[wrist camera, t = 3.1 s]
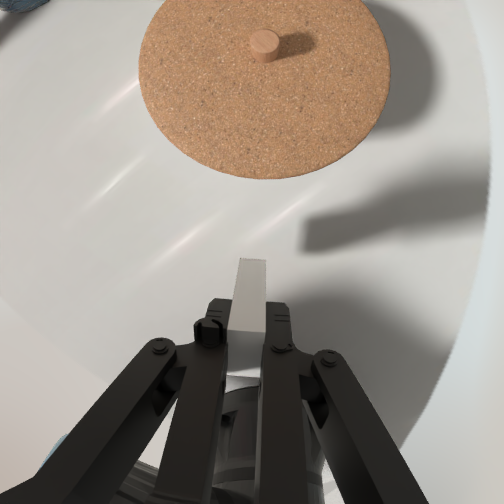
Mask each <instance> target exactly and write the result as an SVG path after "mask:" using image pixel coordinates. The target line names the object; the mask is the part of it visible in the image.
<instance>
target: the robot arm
mask: <svg viewBox="0 0 504 504" xmlns="http://www.w3.org/2000/svg"><path fill="white" fill-rule="evenodd" d="M194 339H195V341H194V342H192V343H189V344H185V345H177V346H175V344H174V342H173V341H171V340H170V339H167V338H155V339H152V340H150V341H149V342H148V343H146V345H145V346H144V347H143V348H142V349H141V350H140V351H139V353H138V354H137V355H136V356H135V357H134V358H133V359H132V361H131V362H130V363H129V364H128V365H127V366H126V367H125V369H124V370H123V371H122V372H121V373H120V374H119V376H118V377H117V378H116V379H115V380H114V381H113V382H112V384H111V385H110V386H109V387H108V388H107V389H106V391H105V392H104V393H103V394H102V395H101V396H100V398H99V399H98V400H97V401H96V402H95V403H94V405H93V406H92V407H91V408H90V409H89V411H88V412H87V413H86V414H85V415H84V416H83V418H82V419H81V420H80V421H79V422H78V424H77V425H76V426H75V427H74V428H73V429H72V431H71V432H70V433H69V434H66V435H64V436H62V437H61V438H60V439H59V440H58V442H57V443H56V444H55V446H54V447H53V449H52V450H51V452H50V453H49V454H48V456H47V457H46V459H45V461H44V462H43V464H42V465H41V467H40V468H39V470H38V472H37V473H36V474H35V476H34V477H33V478H31V479H29V480H27V481H25V482H23V483H21V484H19V485H17V486H15V487H13V488H11V489H9V490H7V491H5V492H3V493H1V494H0V504H325V502H324V493H323V484H322V469H323V466H324V462H325V458H326V460H327V462H328V465H329V467H330V469H331V472H332V474H333V477H334V479H335V481H336V483H337V486H338V488H339V491H340V493H341V496H342V498H343V500H344V503H345V504H429V503H428V501H427V500H426V498H425V496H424V494H423V492H422V490H421V489H420V487H419V485H418V483H417V481H416V480H415V478H414V476H413V474H412V473H411V471H410V469H409V467H408V466H407V464H406V462H405V460H404V459H403V457H402V455H401V453H400V452H399V450H398V448H397V446H396V445H395V443H394V441H393V440H392V438H391V436H390V434H389V433H388V431H387V429H386V428H385V426H384V424H383V422H382V421H381V419H380V417H379V416H378V414H377V412H376V411H375V409H374V407H373V406H372V404H371V402H370V401H369V399H368V397H367V396H366V394H365V392H364V391H363V389H362V387H361V386H360V384H359V382H358V381H357V379H356V377H355V376H354V374H353V372H352V371H351V369H350V368H349V366H348V364H347V363H346V361H345V359H344V358H343V357H342V356H341V355H340V354H339V353H337V352H335V351H332V350H321V351H318V352H317V353H316V354H315V355H310V354H306V353H303V352H301V351H300V350H298V349H297V348H296V347H295V345H294V344H293V341H292V333H291V323H290V314H289V308H288V307H287V306H286V304H285V303H280V302H266V260H259V259H246V258H240V262H239V268H238V273H237V278H236V284H235V289H234V295H233V300H230V299H218V298H215V299H213V300H212V301H211V302H210V303H209V306H208V309H207V312H206V316H205V318H202V319H199V320H198V321H196V322H195V324H194ZM226 374H227V375H234V376H246V377H260V382H259V387H255V388H247V389H241V390H237V391H233V392H230V393H227V394H225V388H226ZM177 398H178V400H177V403H176V407H175V411H174V414H173V418H172V421H171V425H170V429H169V433H168V437H167V440H166V444H165V448H164V451H163V456H162V459H161V463H160V467H159V469H158V468H155V467H153V466H150V465H148V464H145V463H143V462H141V461H139V460H138V459H139V457H140V456H141V454H142V452H143V451H144V449H145V448H146V446H147V445H148V443H149V442H150V440H151V439H152V437H153V435H154V434H155V432H156V431H157V429H158V428H159V426H160V425H161V423H162V421H163V420H164V418H165V417H166V415H167V414H168V412H169V410H170V409H171V407H172V406H173V404H174V403H175V401H176V399H177Z"/></svg>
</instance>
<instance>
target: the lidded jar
mask: <svg viewBox="0 0 504 504" xmlns="http://www.w3.org/2000/svg"><path fill="white" fill-rule="evenodd" d="M390 76H391V69H390V57H389V52H388V48H387V45H386V41H385V38H384V36H383V33H382V31H381V29H380V27H379V25H378V23H377V21H376V20H375V18H374V17H373V15H372V14H371V12H370V11H369V9H368V8H367V7H366V6H365V4H364V3H363V2H362V1H361V0H166V1H165V2H164V3H163V4H162V6H161V7H160V8H159V9H158V11H157V12H156V14H155V15H154V17H153V19H152V21H151V22H150V24H149V26H148V28H147V30H146V33H145V36H144V39H143V42H142V45H141V50H140V56H139V82H140V87H141V92H142V96H143V99H144V101H145V104H146V107H147V109H148V112H149V113H150V115H151V117H152V119H153V120H154V122H155V124H156V125H157V127H158V128H159V129H160V130H161V132H162V133H163V134H164V135H165V136H166V138H167V139H168V140H169V141H170V142H171V143H172V144H174V145H175V146H176V147H177V148H178V149H179V150H181V151H182V152H183V153H184V154H186V155H187V156H189V157H191V158H192V159H194V160H196V161H197V162H199V163H200V164H203V165H205V166H207V167H210V168H212V169H214V170H217V171H219V172H223V173H227V174H230V175H234V176H238V177H245V178H253V179H282V178H288V177H295V176H300V175H304V174H307V173H310V172H313V171H317V170H319V169H322V168H324V167H326V166H328V165H330V164H332V163H334V162H336V161H338V160H339V159H341V158H342V157H343V156H345V155H346V154H348V153H349V152H351V151H352V150H353V149H354V148H355V147H356V146H357V145H358V144H359V143H360V142H362V141H363V140H364V139H365V138H366V136H367V135H368V134H369V132H370V131H371V130H372V128H373V127H374V126H375V124H376V123H377V121H378V119H379V117H380V115H381V113H382V111H383V109H384V106H385V103H386V99H387V96H388V92H389V86H390Z"/></svg>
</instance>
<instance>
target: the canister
mask: <svg viewBox="0 0 504 504" xmlns="http://www.w3.org/2000/svg"><path fill="white" fill-rule="evenodd" d="M47 1H48V0H0V10H2V11H7V12H11V13H13V12H27V11H30V10H33V9H35V8H37V7H39V6H41V5H42V4H44V3H45V2H47Z"/></svg>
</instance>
